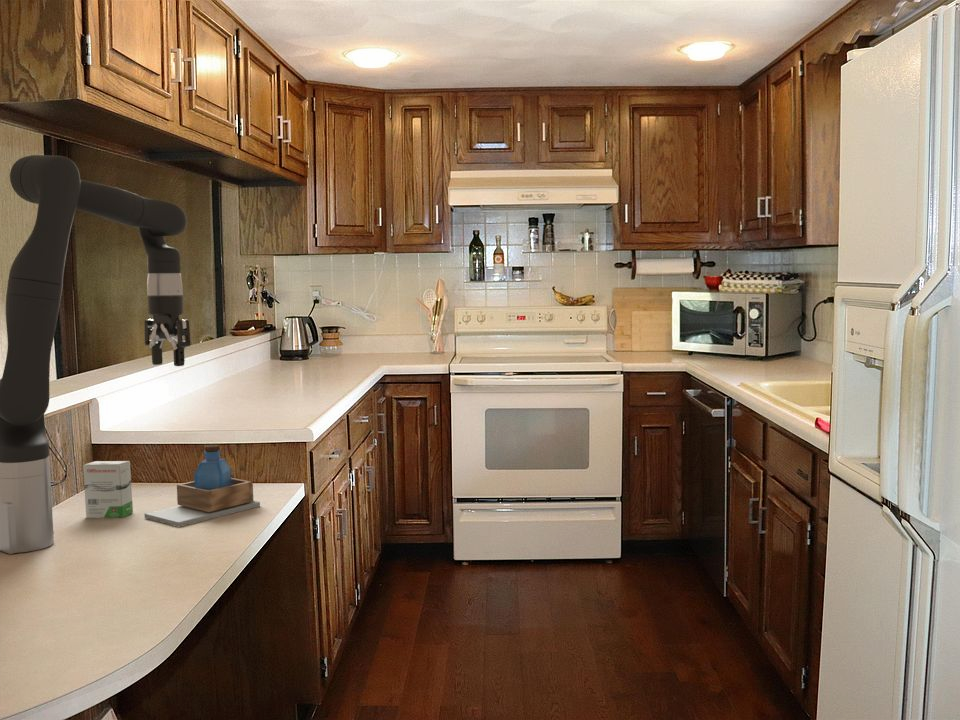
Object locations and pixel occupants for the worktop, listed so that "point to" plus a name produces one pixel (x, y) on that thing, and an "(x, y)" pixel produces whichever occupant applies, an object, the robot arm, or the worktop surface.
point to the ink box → (108, 489)
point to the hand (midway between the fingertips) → (168, 365)
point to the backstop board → (195, 513)
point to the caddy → (214, 495)
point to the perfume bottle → (212, 470)
